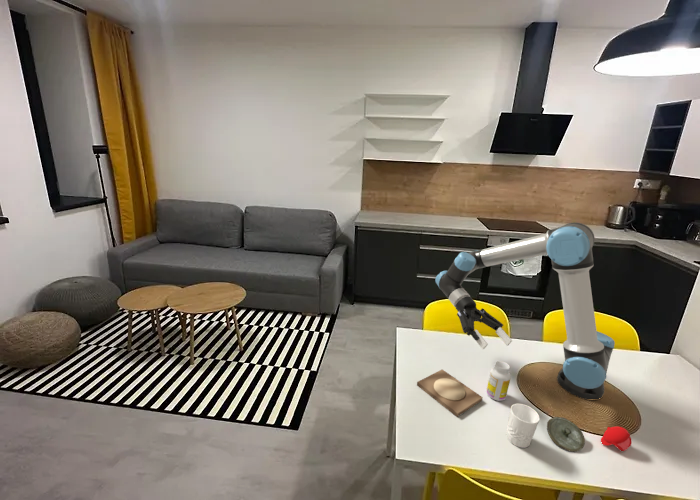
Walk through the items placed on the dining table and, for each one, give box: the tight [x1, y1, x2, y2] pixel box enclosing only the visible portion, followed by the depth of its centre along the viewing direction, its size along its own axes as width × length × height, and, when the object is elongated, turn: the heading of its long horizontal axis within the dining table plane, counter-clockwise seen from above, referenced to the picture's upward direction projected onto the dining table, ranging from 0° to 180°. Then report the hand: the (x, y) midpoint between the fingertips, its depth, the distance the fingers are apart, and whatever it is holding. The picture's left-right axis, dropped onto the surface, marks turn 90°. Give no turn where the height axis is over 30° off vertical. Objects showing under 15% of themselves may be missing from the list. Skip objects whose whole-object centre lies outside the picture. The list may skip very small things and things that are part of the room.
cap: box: [600, 426, 633, 452], centre depth 108 cm, size 8×6×6 cm
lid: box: [546, 416, 586, 453], centre depth 109 cm, size 11×10×5 cm
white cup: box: [505, 403, 541, 449], centre depth 107 cm, size 8×8×10 cm
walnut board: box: [416, 369, 483, 418], centre depth 126 cm, size 18×14×2 cm
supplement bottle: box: [486, 360, 512, 402], centre depth 124 cm, size 7×7×13 cm
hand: (497, 345), depth 126 cm, fingers open, 13 cm apart
